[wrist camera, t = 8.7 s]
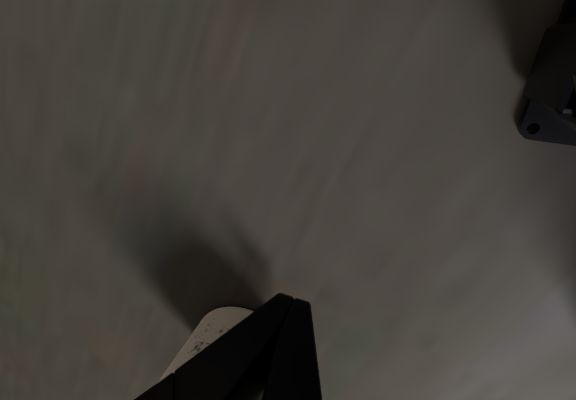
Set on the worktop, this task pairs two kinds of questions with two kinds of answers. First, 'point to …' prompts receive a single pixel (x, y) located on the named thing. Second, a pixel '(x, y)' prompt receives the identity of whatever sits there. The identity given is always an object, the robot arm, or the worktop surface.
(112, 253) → the worktop surface
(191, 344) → the teacup with lid
